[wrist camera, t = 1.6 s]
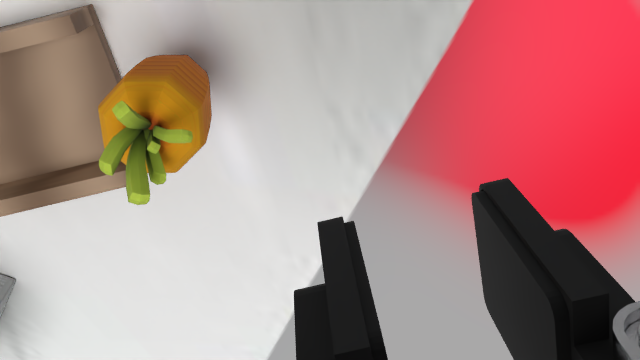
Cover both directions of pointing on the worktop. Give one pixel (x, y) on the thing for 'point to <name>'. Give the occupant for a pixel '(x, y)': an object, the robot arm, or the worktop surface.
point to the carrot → (154, 121)
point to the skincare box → (5, 290)
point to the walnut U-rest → (54, 110)
